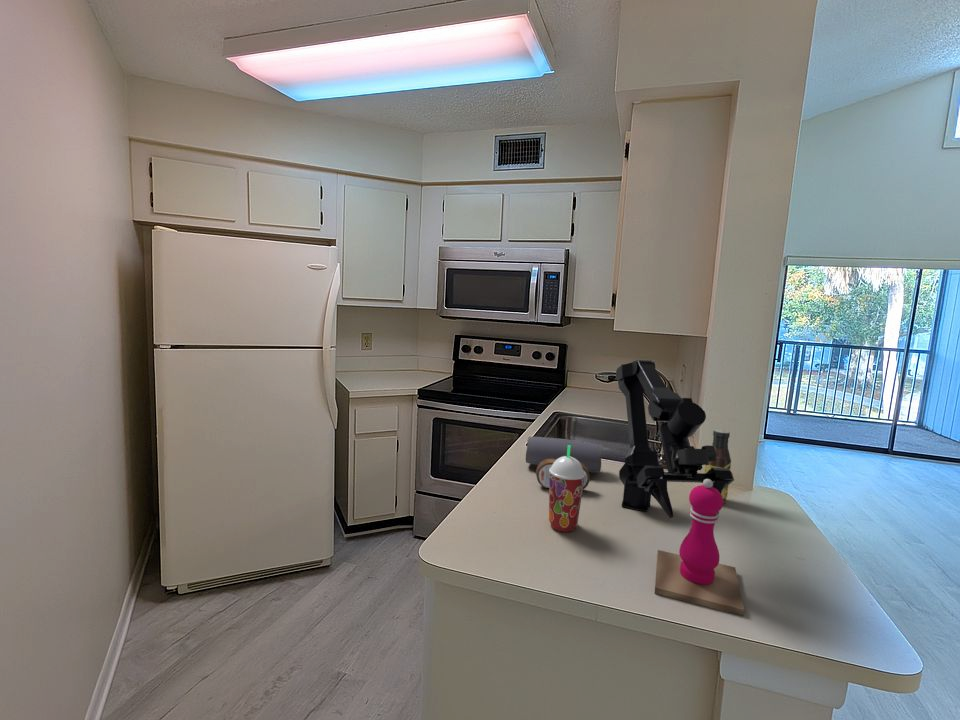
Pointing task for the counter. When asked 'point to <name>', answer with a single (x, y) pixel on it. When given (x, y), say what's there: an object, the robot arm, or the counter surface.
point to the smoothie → (565, 492)
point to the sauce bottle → (721, 455)
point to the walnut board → (699, 585)
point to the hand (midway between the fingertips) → (694, 518)
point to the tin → (543, 473)
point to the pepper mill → (701, 535)
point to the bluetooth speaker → (563, 451)
